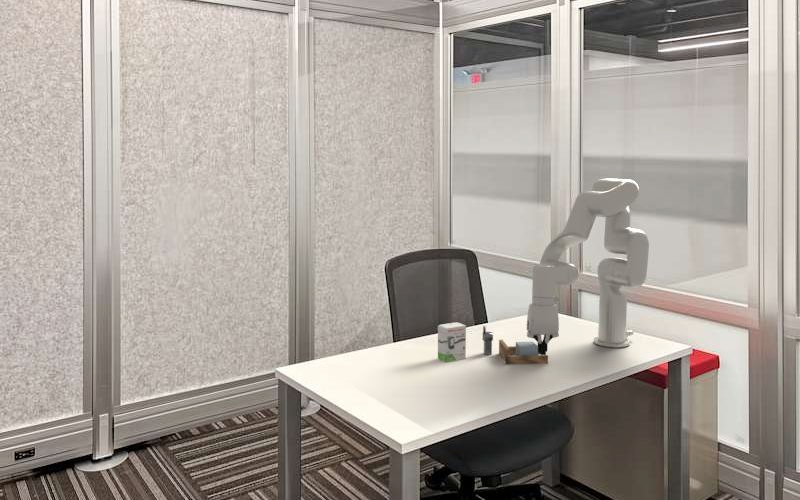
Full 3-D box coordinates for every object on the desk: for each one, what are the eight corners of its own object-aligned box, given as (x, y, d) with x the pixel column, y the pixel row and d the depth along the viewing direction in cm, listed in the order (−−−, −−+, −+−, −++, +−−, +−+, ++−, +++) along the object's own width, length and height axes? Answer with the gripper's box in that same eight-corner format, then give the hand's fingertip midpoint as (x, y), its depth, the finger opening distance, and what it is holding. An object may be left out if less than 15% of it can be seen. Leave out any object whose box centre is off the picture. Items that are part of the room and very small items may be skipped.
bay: (538, 352, 233) (539, 338, 232) (547, 363, 221) (548, 348, 220) (498, 353, 232) (499, 339, 232) (505, 364, 221) (506, 349, 220)
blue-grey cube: (532, 355, 230) (532, 341, 229) (537, 360, 224) (537, 346, 223) (515, 356, 229) (515, 342, 229) (520, 361, 223) (520, 346, 223)
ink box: (445, 362, 223) (445, 328, 221) (437, 358, 227) (437, 325, 225) (466, 358, 227) (466, 324, 225) (457, 355, 231) (458, 321, 230)
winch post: (491, 352, 234) (492, 324, 233) (493, 355, 231) (494, 327, 229) (481, 352, 234) (481, 325, 233) (483, 355, 230) (483, 327, 229)
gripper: (562, 298, 228) (560, 350, 231) (518, 298, 228) (517, 351, 230) (568, 302, 221) (567, 356, 223) (524, 303, 220) (522, 357, 223)
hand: (542, 353), depth 227 cm, fingers closed
